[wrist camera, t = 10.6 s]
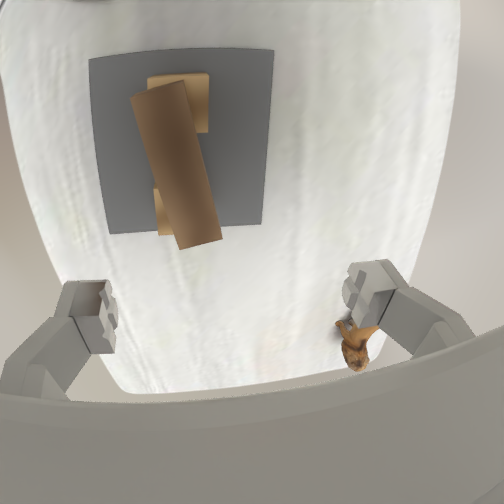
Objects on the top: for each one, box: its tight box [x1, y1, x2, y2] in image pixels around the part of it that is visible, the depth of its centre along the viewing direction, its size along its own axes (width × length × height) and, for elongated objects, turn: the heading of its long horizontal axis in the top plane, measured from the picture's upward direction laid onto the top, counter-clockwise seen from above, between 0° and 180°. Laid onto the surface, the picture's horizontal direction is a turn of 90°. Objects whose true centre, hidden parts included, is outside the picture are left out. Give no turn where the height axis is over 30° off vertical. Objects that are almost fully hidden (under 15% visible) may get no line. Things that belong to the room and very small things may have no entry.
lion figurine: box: [335, 319, 379, 372], centre depth 48 cm, size 15×5×9 cm, turn 170°
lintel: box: [130, 79, 223, 250], centre depth 25 cm, size 4×14×3 cm, turn 10°
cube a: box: [147, 72, 209, 133], centre depth 25 cm, size 5×5×5 cm
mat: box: [89, 48, 274, 234], centre depth 30 cm, size 20×18×1 cm
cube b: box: [153, 182, 174, 235], centre depth 31 cm, size 5×5×5 cm
